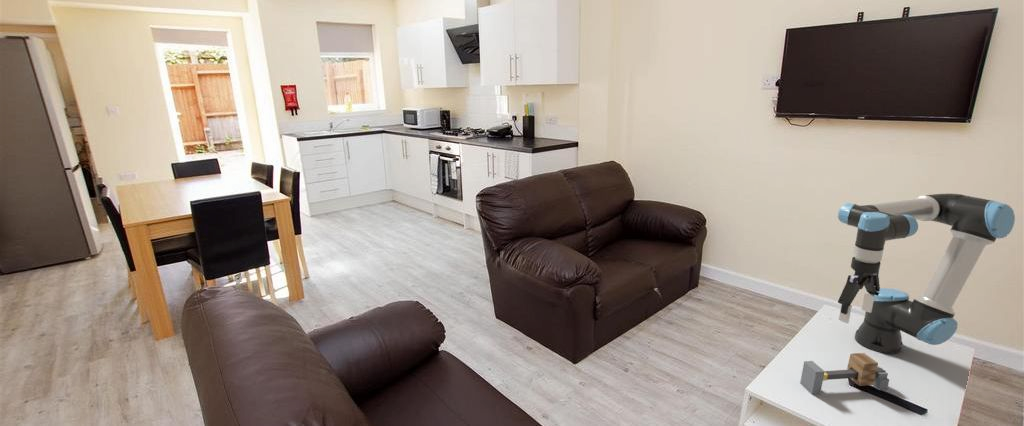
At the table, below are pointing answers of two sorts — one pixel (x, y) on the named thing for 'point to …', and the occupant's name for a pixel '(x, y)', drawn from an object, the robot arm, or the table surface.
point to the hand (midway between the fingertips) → (855, 316)
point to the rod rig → (835, 377)
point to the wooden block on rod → (863, 368)
